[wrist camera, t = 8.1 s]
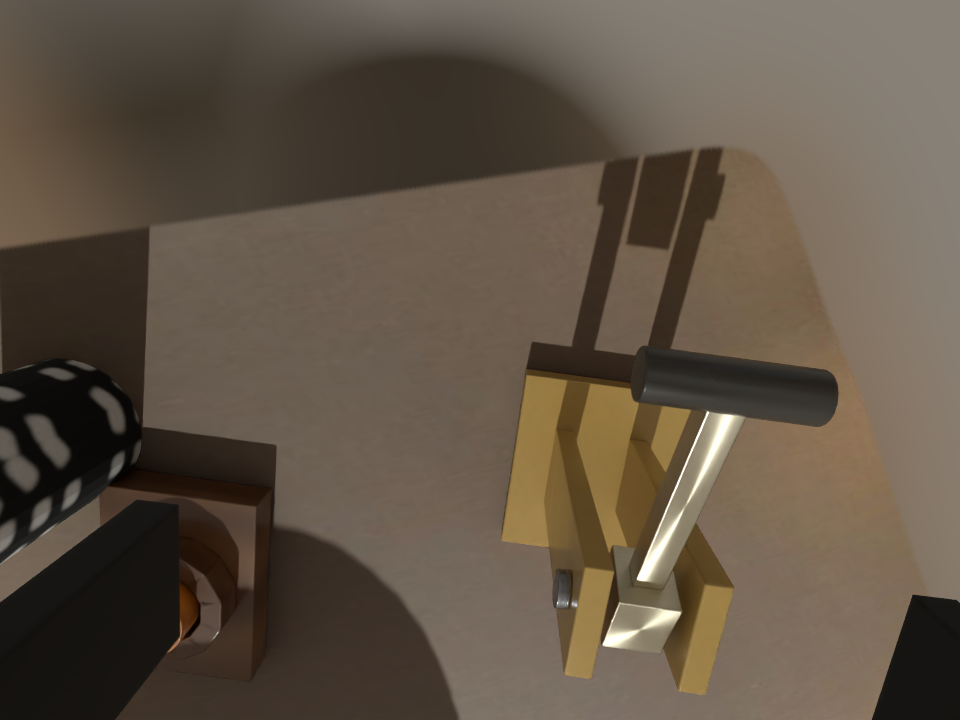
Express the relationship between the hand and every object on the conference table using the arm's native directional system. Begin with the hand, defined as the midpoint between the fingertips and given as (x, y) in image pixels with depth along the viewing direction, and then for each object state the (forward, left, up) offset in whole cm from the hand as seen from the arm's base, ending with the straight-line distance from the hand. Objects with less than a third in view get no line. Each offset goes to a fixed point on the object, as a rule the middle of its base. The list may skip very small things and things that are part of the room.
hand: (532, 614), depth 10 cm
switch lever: (-2, +5, -9) cm, 11 cm away
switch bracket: (+2, +8, -22) cm, 23 cm away
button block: (+24, -4, -22) cm, 33 cm away
